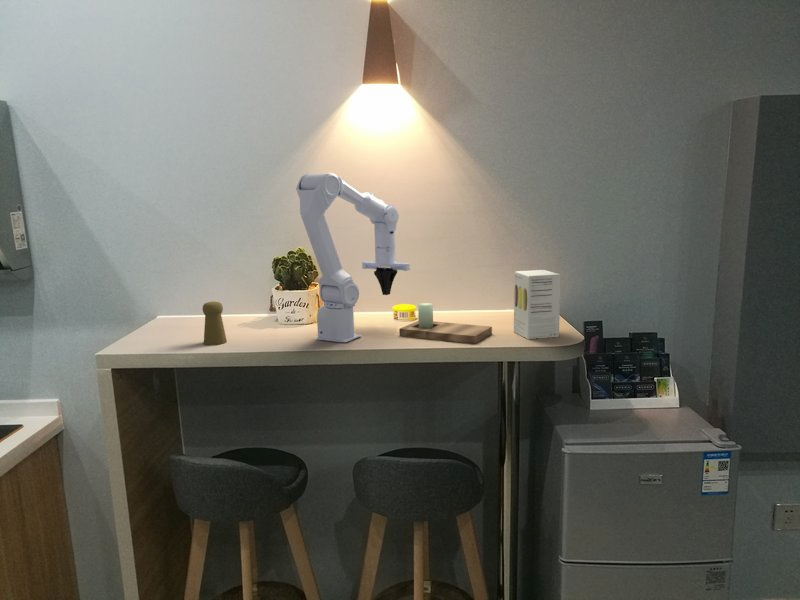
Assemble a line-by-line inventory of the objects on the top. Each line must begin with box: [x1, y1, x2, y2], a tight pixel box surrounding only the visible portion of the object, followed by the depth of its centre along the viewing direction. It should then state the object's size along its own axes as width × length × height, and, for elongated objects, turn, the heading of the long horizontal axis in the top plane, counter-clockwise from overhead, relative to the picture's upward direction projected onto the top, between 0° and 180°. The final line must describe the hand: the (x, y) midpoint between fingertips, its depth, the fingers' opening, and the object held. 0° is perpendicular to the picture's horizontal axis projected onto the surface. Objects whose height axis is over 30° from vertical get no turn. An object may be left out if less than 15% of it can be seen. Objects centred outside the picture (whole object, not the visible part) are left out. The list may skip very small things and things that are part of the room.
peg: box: [417, 302, 434, 329], centre depth 176 cm, size 4×4×8 cm
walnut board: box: [398, 320, 493, 345], centre depth 173 cm, size 22×12×2 cm, turn 61°
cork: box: [202, 301, 227, 346], centre depth 170 cm, size 6×6×11 cm
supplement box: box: [513, 269, 562, 340], centre depth 170 cm, size 10×9×17 cm
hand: (386, 294), depth 184 cm, fingers closed
